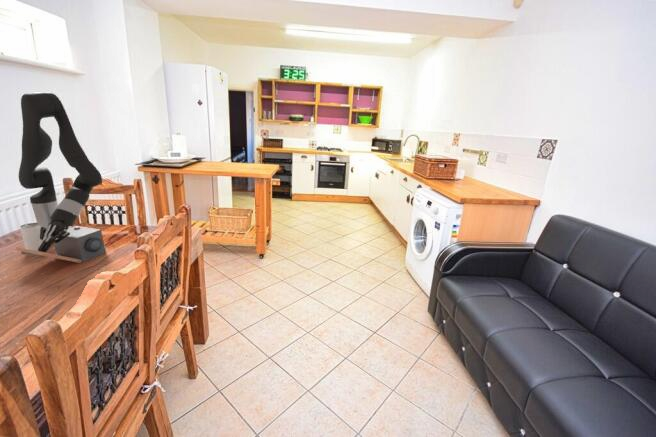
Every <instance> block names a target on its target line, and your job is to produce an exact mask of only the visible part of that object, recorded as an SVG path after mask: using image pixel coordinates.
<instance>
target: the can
mask: <svg viewBox="0 0 656 437" xmlns="http://www.w3.org/2000/svg"><path fill="white" fill-rule="evenodd" d="M40 228H41V227H40V226H39V225H38V223H37V222H30V223H25V224H22V225H20V230H19V231H20V234H21V237H22V241H23V244H24V247H25V248H24V249H29V250H34V251H38V248H39V247H40V245H41V244H42V242H43V241H42V240H41V239H40Z"/></svg>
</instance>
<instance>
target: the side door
mask: <svg viewBox="0 0 656 437" xmlns="http://www.w3.org/2000/svg"><path fill="white" fill-rule="evenodd" d="M15 251H17V252H20V254H21V255H26V256H31V257H37V258H41V259H44V258H45V257H48V258H53V259H57V260H61V261H62V260H63V261H66V262H67V261H68V262H73V263H78V264H81V263H83V262H82V260H80V259H75V258H70V257H65V256H59V255H57V254H55V253H49V252H46V253H45V252H40V251H34V250H29V249H26V248H23V247H17V246H16V248H15Z"/></svg>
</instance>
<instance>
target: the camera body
mask: <svg viewBox="0 0 656 437" xmlns="http://www.w3.org/2000/svg"><path fill="white" fill-rule="evenodd" d="M67 232H69V233H70V235H68V236H67V237H66V238H64V239H63V240H61V241H60V242H58V243H54V244H53V245H54V249H55V252H56V255H59V256H65V257H70V258H75V259H80V260H82V262H81V263H85V262H87V261H88V262H89V261H91V260H92V259H94V258H97V257H99V256H102V255H104V254H106V253H107V251H106V247H105V242H104V238H103V233H102V229H99V228H93V227H87V226H86V227H85V226H81V225H80V226H79V225H73V226H69V227H68V230H67Z"/></svg>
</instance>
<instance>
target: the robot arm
mask: <svg viewBox="0 0 656 437" xmlns="http://www.w3.org/2000/svg"><path fill="white" fill-rule="evenodd" d="M20 109H21V118H22V137H21V159H20V164H19V169H18V181H19V184H20V185H21V187H22V188H23V189H26V190H27V189H28V190H31V189H34V190H35V189H41V190H39V191H38V192H37V193H35V194H33V195H31V196H30V198H29V200H30V203H31V207H32V211H33V214H34V218H35V220H36V223H38V225H39V226H40V227H41V228H40V239H41V240H42V241H43V242H42V244H41V245H40V247H39V248H38V251H40V252H45V253H48V252H47V251H49V249H50V248H51V246H52V245H54V243H58V242H60V241H61V240H63V239H64V238H66V237H67V236H68V235H70V233H69V232H67V230H68V228H70V227H74V224H75V222H76V221H77V219H78V218H79V216H80V215H81V213H82V212H83V209H84V207H85V206H86V204H87V202H88V201H89V199H90V194H91V191H92V190H93V189H94V188H95V187H97V186H100V184H102V182H103V177H102V175H101V172H100V171H99V169H98V168H97V167H96V166H95V165H94V164H93V162H91V160H90V159H89V157H88V155H87V154H86V152H85V151H84V149H83V148H82V146H81V145H80V142H79V140H78V138H77V136H76V134H75V131H74V129H73V127H72V124H71V121H70V119H69V115H68V113H67V111H66V109H65V107H64V105H63V103H62V101H61V100H60V98H59V96H57V95H56V94H55V93H53V92H52V91H40V92H39V91H37V92H27V93H24V94H23V95H21V98H20ZM45 118H54V120H55V121H56V123H57V126H58V131H59V133H58V134H59V135H58V147H59V150H60V152H61V154H62V156H63V157H64V159H65V160H66V162H67V164H68V165H69V166H70V167H71V168H73V169H74V170H76V171H77V173H78V174H77V176H76V177H75V179H74V180H73V183H72V185H71V188H70V189H69V191H68V192H67V194H66V195H65V196H64V198H63V199H62V200H61V201H60V202H58V200H57V193H56V188H55V186H54V185H55V184H54V179H53V175H52V173H51V170H49V169H48V167H43V166H42V167H38V166H39V165H41V164H42V163H43V162H44V161H45V160H47V159H48V158H49V157H50V156H51V154H52V149H53V140H52V137H51V136H50V135H49V134H48V133H47V132H46V131H45V130H44V129H43V128H42V127H41V121H42V119H45Z"/></svg>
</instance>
